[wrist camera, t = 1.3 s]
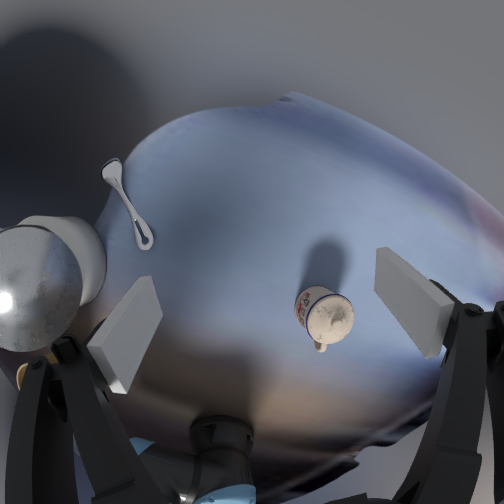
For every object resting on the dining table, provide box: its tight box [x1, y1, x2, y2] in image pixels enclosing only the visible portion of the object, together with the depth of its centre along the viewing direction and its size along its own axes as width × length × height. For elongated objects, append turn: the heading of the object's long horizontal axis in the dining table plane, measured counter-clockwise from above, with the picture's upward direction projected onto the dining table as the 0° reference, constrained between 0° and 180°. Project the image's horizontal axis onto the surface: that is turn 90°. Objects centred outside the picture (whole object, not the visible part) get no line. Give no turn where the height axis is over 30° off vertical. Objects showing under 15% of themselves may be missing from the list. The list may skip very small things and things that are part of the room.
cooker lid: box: [0, 224, 83, 352], centre depth 25 cm, size 19×21×2 cm
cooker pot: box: [18, 216, 107, 307], centre depth 40 cm, size 19×19×12 cm
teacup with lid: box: [295, 286, 354, 352], centre depth 47 cm, size 12×9×12 cm
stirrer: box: [100, 158, 153, 250], centre depth 46 cm, size 20×4×5 cm
